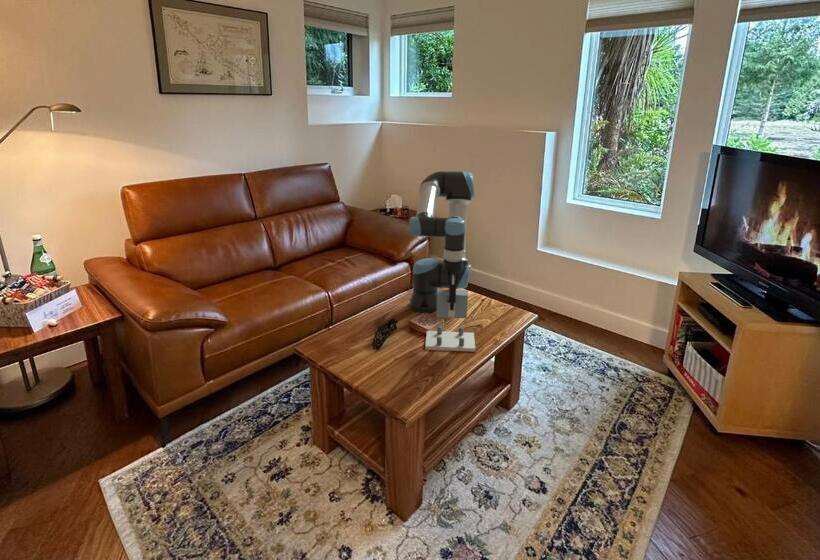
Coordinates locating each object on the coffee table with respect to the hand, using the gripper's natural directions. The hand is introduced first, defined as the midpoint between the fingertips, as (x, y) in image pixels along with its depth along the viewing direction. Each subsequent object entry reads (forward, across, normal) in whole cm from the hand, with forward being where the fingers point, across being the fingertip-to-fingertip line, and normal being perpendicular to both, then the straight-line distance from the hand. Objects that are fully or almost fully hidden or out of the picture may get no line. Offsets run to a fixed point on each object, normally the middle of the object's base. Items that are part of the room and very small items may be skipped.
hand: (451, 313), depth 188 cm
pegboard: (+14, 0, 0) cm, 14 cm away
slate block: (+1, 0, 0) cm, 1 cm away
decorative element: (+14, +2, +27) cm, 31 cm away
